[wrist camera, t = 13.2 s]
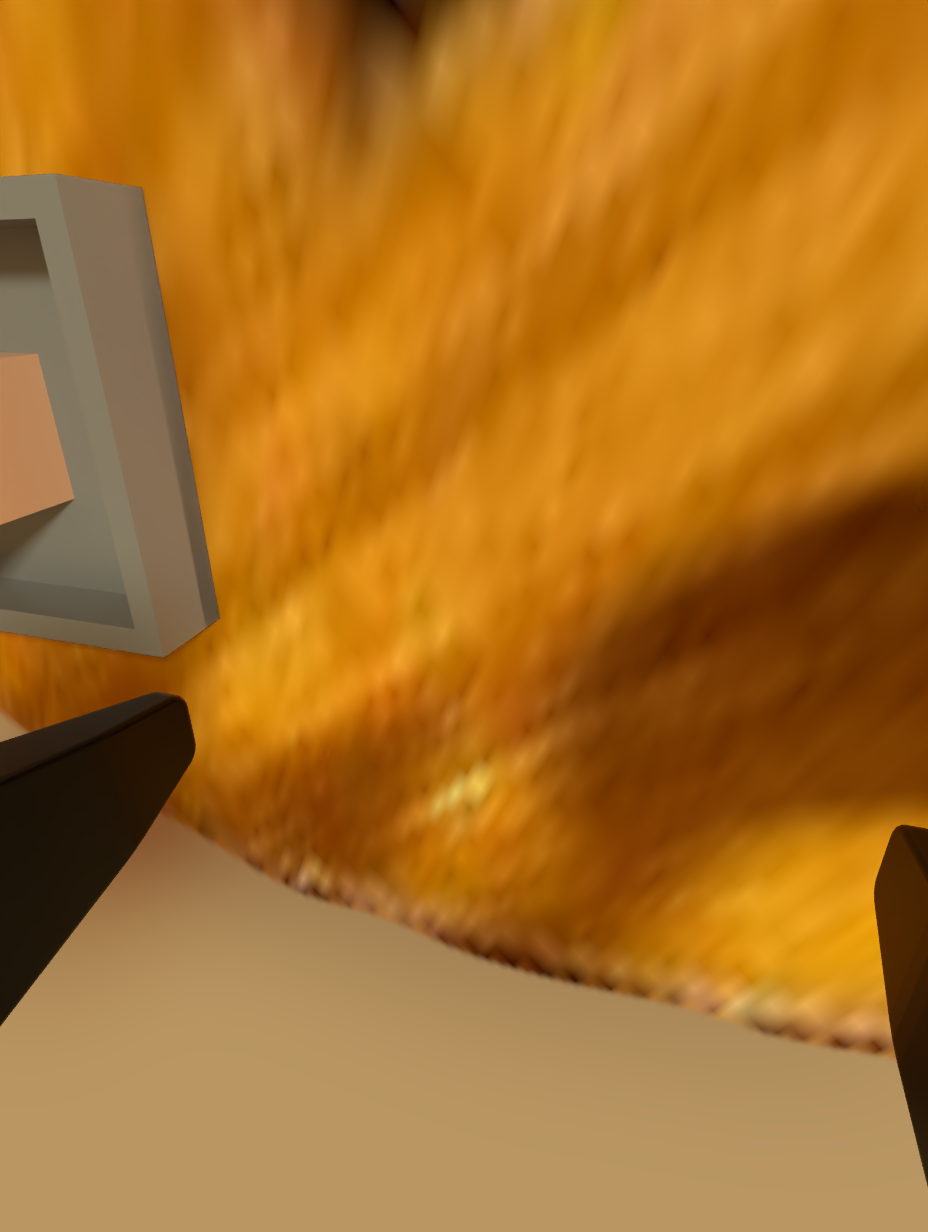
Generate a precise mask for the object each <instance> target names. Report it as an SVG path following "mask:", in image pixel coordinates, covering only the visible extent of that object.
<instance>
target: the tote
mask: <svg viewBox="0 0 928 1232" xmlns="http://www.w3.org/2000/svg"><path fill="white" fill-rule="evenodd" d="M0 353H30V354H38V358H39V362H40V366H41V369H42V373H43V377H44V381H45V385H46V389H47V393H48V397H49V401H50V405H51V409H52V412H53V416H54V420H55V424H56V428H57V432H58V436H59V440H60V444H61V448H62V451H63V455H64V459H65V463H66V467H67V471H68V475H69V479H70V483H71V487H72V491H73V494H74V498H75V499H72V500H69V501H66V502H64V503H61V504H58V505H55V506H52V507H49V508H47V509H44V510H41V511H38V512H35V513H32V514H30V515H27V516H24V517H21V518H18V519H15V520H13V521H10V522H7V523H4V524H1V525H0V631H3V632H9V633H15V634H21V635H27V636H33V637H39V638H46V639H52V640H58V641H64V642H70V643H76V644H82V645H89V646H95V647H101V648H107V649H113V650H119V651H125V652H132V653H138V654H144V655H150V656H156V657H162V658H164V657H166V656H167V655H169V654H170V653H172V652H173V651H174V650H176V649H177V648H179V647H180V646H181V645H183V644H184V643H186V642H187V641H188V640H190V639H191V638H193V637H194V636H195V635H197V634H198V633H200V632H201V631H202V630H204V629H205V628H207V627H208V626H210V625H211V624H212V623H214V622H215V621H217V620H218V619H219V612H218V607H217V601H216V595H215V590H214V584H213V579H212V573H211V568H210V562H209V557H208V551H207V546H206V540H205V535H204V529H203V523H202V518H201V512H200V507H199V501H198V496H197V490H196V485H195V479H194V474H193V468H192V463H191V457H190V451H189V446H188V440H187V435H186V429H185V424H184V418H183V413H182V407H181V402H180V396H179V391H178V385H177V379H176V374H175V368H174V363H173V357H172V352H171V346H170V341H169V335H168V330H167V324H166V318H165V313H164V307H163V302H162V296H161V291H160V285H159V280H158V274H157V269H156V263H155V258H154V252H153V246H152V241H151V235H150V230H149V224H148V219H147V213H146V208H145V202H144V197H143V191H142V188H140V187H134V186H128V185H122V184H116V183H110V182H104V181H97V180H91V179H85V178H79V177H73V176H67V175H61V174H39V175H23V176H6V177H0Z"/></svg>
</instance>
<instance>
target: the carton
mask: <svg viewBox="0 0 928 1232" xmlns="http://www.w3.org/2000/svg"><path fill="white" fill-rule="evenodd" d="M72 499H75V498H74V494H73V491H72V487H71V483H70V479H69V475H68V471H67V467H66V463H65V459H64V455H63V451H62V448H61V444H60V440H59V436H58V432H57V428H56V424H55V420H54V416H53V412H52V409H51V405H50V401H49V397H48V393H47V389H46V385H45V381H44V377H43V373H42V369H41V366H40V362H39V358H38V354H30V353H0V525H1V524H4V523H7V522H10V521H13V520H15V519H18V518H21V517H24V516H27V515H30V514H32V513H35V512H38V511H41V510H44V509H47V508H49V507H52V506H55V505H58V504H61V503H64V502H66V501H69V500H72Z"/></svg>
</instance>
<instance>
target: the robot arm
mask: <svg viewBox="0 0 928 1232" xmlns="http://www.w3.org/2000/svg"><path fill="white" fill-rule="evenodd" d="M195 747H196V744H195V738H194V734H193V729H192V724H191V720H190V715H189V711H188V706H187V703H186V702H185V700H184V699H183V698H182V697H180V696H177V695H172V694H166V693H160V692H154V693H150V694H147V695H144V696H141V697H138V698H135V699H132V700H129V701H125V702H122V703H119V704H116V705H113V706H110V707H107V708H104V709H101V710H98V711H95V712H92V713H89V714H86V715H82V716H79V717H76V718H73V719H70V720H67V721H64V722H61V723H58V724H55V725H52V726H49V727H46V728H43V729H39V730H36V731H33V732H30V733H27V734H24V735H21V736H18V737H15V738H12V739H9V740H6V741H3V742H0V1026H1V1025H2V1024H3V1022H4V1021H5V1020H6V1018H7V1017H8V1015H10V1013H11V1012H12V1010H13V1009H14V1008H15V1007H16V1005H17V1004H18V1003H19V1001H20V1000H21V999H22V998H23V996H24V995H25V994H26V992H27V991H28V990H29V988H30V987H31V986H32V984H33V983H34V982H35V981H36V979H37V978H38V976H39V975H40V974H41V973H42V972H43V970H44V969H45V968H46V966H47V965H48V964H49V962H50V961H51V960H52V959H53V957H54V956H55V955H56V953H57V952H58V951H59V949H60V948H61V947H62V945H63V944H64V943H65V942H66V940H67V939H68V938H69V936H70V935H71V934H72V933H73V931H74V930H75V929H76V927H77V926H78V925H79V923H80V922H81V921H82V920H83V918H84V917H85V916H86V914H87V913H88V912H89V910H90V909H91V908H92V906H93V905H94V904H95V902H96V901H97V900H98V898H99V897H100V896H101V895H102V893H103V892H104V891H105V890H106V888H107V887H108V886H109V884H110V883H111V882H112V880H113V879H114V878H115V877H116V875H117V874H118V873H119V871H120V870H121V869H122V867H123V866H124V865H125V863H126V862H127V861H128V859H129V858H130V857H131V855H132V854H133V852H134V851H135V850H136V848H137V847H138V845H139V844H140V842H141V841H142V839H143V838H144V836H145V835H146V833H147V831H148V830H149V828H150V827H151V825H152V824H153V822H154V820H155V819H156V817H157V816H158V814H159V812H160V811H161V809H162V808H163V806H164V805H165V803H166V801H167V800H168V798H169V797H170V795H171V793H172V792H173V790H174V789H175V787H176V785H177V784H178V782H179V781H180V779H181V778H182V776H183V774H184V773H185V771H186V770H187V768H188V766H189V765H190V763H191V761H192V759H193V757H194V754H195ZM874 902H875V911H876V919H877V927H878V935H879V943H880V950H881V958H882V966H883V974H884V982H885V990H886V998H887V1006H888V1014H889V1021H890V1028H891V1034H892V1041H893V1046H894V1050H895V1055H896V1059H897V1064H898V1068H899V1072H900V1076H901V1080H902V1084H903V1089H904V1092H905V1097H906V1101H907V1105H908V1109H909V1113H910V1117H911V1121H912V1125H913V1129H914V1133H915V1137H916V1141H917V1145H918V1149H919V1153H920V1158H921V1161H922V1166H923V1170H924V1174H925V1178H926V1182H927V1186H928V829H926V828H921V827H915V826H909V825H900V826H898V827H896V828H895V830H894V831H893V832H892V834H891V837H890V840H889V843H888V846H887V848H886V851H885V854H884V857H883V860H882V863H881V866H880V869H879V872H878V875H877V878H876V881H875V888H874Z"/></svg>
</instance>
